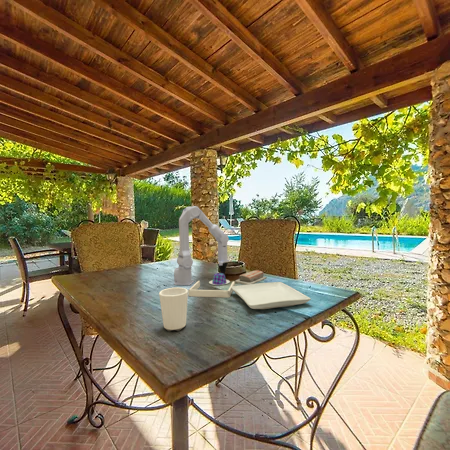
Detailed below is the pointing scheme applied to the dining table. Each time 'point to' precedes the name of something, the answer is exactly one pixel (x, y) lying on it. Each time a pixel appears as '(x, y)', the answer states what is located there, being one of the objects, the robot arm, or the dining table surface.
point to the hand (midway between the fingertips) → (223, 274)
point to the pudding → (219, 279)
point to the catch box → (209, 291)
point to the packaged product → (251, 277)
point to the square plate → (269, 295)
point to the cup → (174, 308)
